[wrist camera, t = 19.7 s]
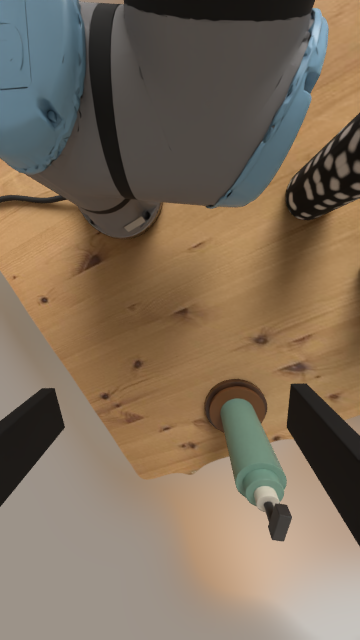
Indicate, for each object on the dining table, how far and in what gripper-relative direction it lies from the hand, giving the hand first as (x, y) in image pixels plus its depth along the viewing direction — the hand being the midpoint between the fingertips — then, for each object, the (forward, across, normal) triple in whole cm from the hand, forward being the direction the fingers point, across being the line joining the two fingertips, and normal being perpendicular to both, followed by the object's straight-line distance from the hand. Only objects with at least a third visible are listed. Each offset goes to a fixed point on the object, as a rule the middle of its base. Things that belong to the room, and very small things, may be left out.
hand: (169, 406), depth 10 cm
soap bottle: (+27, +10, -23) cm, 37 cm away
